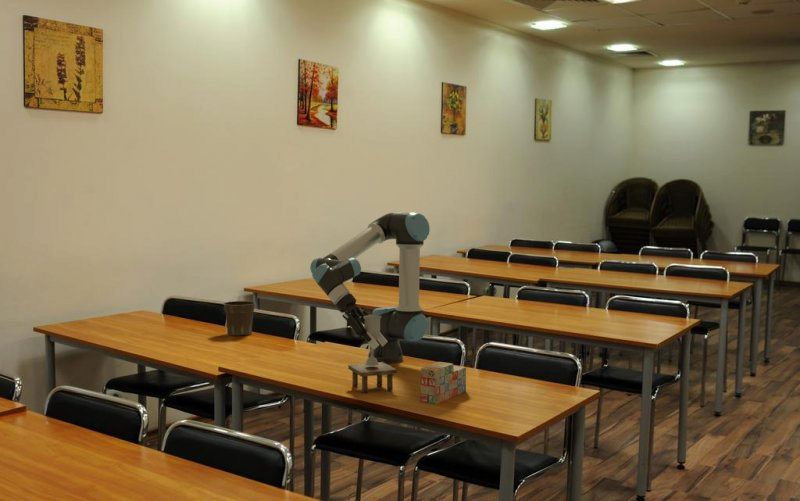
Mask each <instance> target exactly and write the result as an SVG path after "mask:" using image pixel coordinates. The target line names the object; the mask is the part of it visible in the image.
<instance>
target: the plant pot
mask: <svg viewBox="0 0 800 501" xmlns="http://www.w3.org/2000/svg"><path fill="white" fill-rule="evenodd" d="M255 305H256V302H255V301H252V300H251V301H248V300H234V301H233V300H232V301H226V302H223V307H224V308H223V309H224V312H225V319H226V320H225V321H226V322H225V323H226V332H227V335H228V336H233V337H234V336H235V337H240V336H250V335H251V334H252V332H253V331H252V330H253V319H254V311H255Z"/></svg>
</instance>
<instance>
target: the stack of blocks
mask: <svg viewBox="0 0 800 501" xmlns="http://www.w3.org/2000/svg"><path fill="white" fill-rule="evenodd" d="M466 372H467V367H465V366H459V365H454V363H451V362H444V361H437V362H435V363H432V364H429V365H426V366H422V367H421V368H420V402H423V403H429V404H432V405H433V404H434V405H436V404H439V403H442V402H444V401H447V400H449V399H451V398H453V397H454V398H455V397H456V396H459V395H460V394H463V393H465V392H466V391H467V373H466ZM466 393H467V392H466Z"/></svg>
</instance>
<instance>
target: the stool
mask: <svg viewBox="0 0 800 501" xmlns="http://www.w3.org/2000/svg"><path fill="white" fill-rule="evenodd" d="M365 364H366V363H357V364H349V365H347V366H348V367H347V368H348V370H349V371H352V380H351V381H352V382H351V383H352V387H353V388H358V387H359V383H358V382H359V378H358V377H359V376H360V377H361V393H362V394H368V379H369V378H368V377H373V376H374V377H375V376H376V385H379V386H381V385H383V376H385V375H386V376H387V377H386V391H388V392H391V391H393V388H394V387H393V384H394V383H393V375H394V374H398V369H397V368H395V367H393V366H391V365H389V364H388V363H383V362H378V364H379V365H376V366H368V365H365Z"/></svg>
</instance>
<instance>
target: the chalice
mask: <svg viewBox="0 0 800 501" xmlns="http://www.w3.org/2000/svg"><path fill="white" fill-rule="evenodd" d="M363 317H364V320H365V325H364V324H363V326H364V328H365V329H366V331H367V332H368V331H369V333H370V334H371V335H372V336H373V338H374V339H375V340H376V339H377V337H378V334H379V331H380V319H381V316H378V315H373V314H369V315H367V316H363ZM367 332H366V333H367ZM369 348H371V351H370V350H369V351H370V352H371V357H370V358H368V357H367V360H366V362H365V363H364V364H365V365H368V366H376V365H379V364H378V361H377V359H376V358H374V356H373V353H374V350H373V348H372V347H371V346H370V345H369Z"/></svg>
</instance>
